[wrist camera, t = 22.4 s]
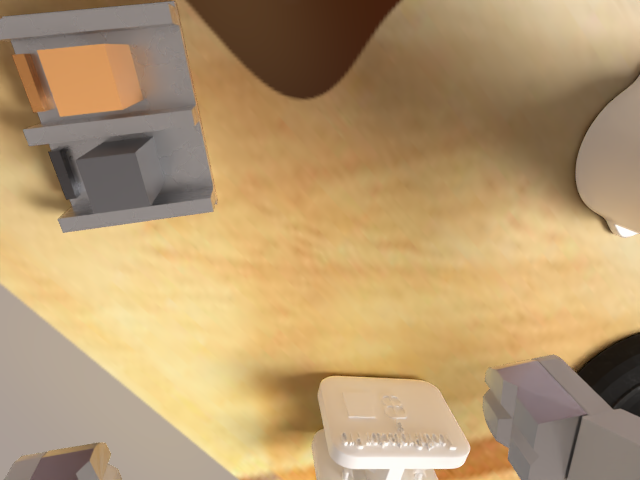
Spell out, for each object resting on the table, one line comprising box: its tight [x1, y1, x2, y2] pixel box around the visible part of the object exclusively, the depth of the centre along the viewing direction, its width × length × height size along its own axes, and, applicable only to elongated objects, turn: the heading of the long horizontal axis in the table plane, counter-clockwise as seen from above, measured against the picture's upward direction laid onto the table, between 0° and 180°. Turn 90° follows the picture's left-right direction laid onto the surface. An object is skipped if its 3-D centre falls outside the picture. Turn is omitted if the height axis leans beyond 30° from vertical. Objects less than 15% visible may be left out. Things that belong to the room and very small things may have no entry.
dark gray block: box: [75, 137, 165, 214], centre depth 32 cm, size 4×4×6 cm
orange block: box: [37, 44, 143, 117], centre depth 29 cm, size 4×4×6 cm
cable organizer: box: [312, 376, 470, 480], centre depth 47 cm, size 15×11×12 cm
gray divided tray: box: [0, 1, 218, 233], centre depth 33 cm, size 12×16×4 cm
